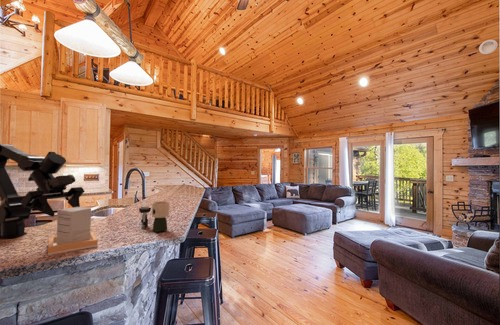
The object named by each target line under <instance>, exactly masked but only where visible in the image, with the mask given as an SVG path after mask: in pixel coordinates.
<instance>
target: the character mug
mask: <svg viewBox="0 0 500 325" xmlns="http://www.w3.org/2000/svg"><path fill="white" fill-rule="evenodd" d="M151 204H152V206H151V217H152V218H154V220H153V224H152V232H156V233H158V232H159V233H161V232H163V231H167V230H168V224H167V223H168V222H167V221H168V220H167V217H168V216H169V215H170V214H169V213H170V202H169V201H160V200H159V201H154V202H152V203H151Z"/></svg>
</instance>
